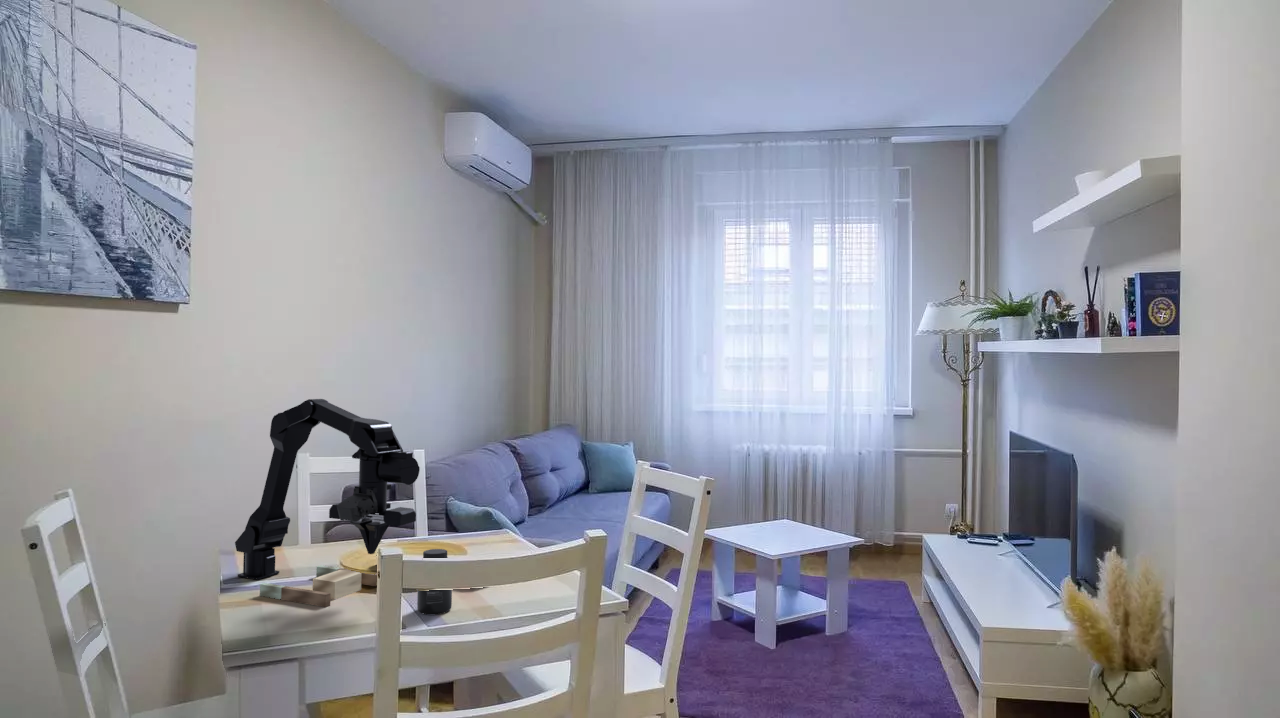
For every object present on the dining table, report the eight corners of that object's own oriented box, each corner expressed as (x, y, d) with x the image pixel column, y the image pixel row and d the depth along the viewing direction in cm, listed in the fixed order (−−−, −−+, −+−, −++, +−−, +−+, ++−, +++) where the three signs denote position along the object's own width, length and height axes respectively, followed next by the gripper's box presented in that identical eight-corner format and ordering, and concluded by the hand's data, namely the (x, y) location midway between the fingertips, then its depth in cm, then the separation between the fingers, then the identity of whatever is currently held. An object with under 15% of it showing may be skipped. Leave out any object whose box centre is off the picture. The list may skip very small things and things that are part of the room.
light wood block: (312, 597, 164) (312, 578, 164) (339, 587, 171) (340, 569, 171) (334, 601, 161) (334, 582, 161) (361, 590, 169) (361, 572, 169)
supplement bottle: (458, 607, 158) (459, 549, 158) (439, 617, 152) (440, 556, 152) (429, 603, 160) (431, 546, 160) (409, 613, 154) (411, 553, 154)
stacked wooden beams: (259, 595, 163) (259, 584, 163) (320, 576, 179) (320, 565, 179) (325, 607, 156) (326, 594, 156) (382, 585, 172) (382, 574, 172)
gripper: (310, 482, 159) (308, 557, 159) (383, 489, 152) (381, 567, 152) (348, 475, 169) (346, 546, 169) (418, 482, 163) (416, 555, 163)
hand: (371, 553), depth 163 cm, fingers closed
